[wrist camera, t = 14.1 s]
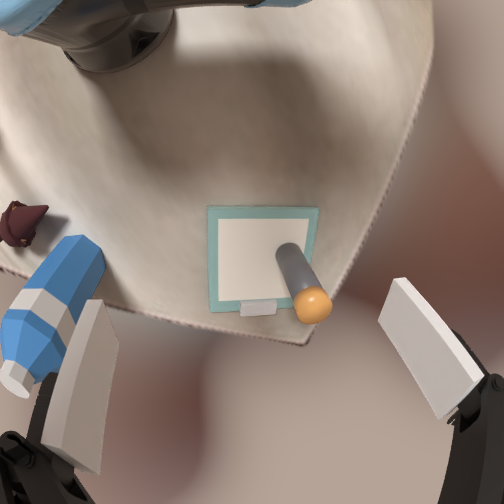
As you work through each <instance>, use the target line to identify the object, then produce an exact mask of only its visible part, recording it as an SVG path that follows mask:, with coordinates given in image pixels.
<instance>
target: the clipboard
mask: <svg viewBox="0 0 504 504" xmlns="http://www.w3.org/2000/svg"><path fill="white" fill-rule="evenodd" d="M318 216H319V209H318V208H317V207H288V206H207V237H208V279H209V306H210V312H230V311H240V317H242V316H259V315H273V314H276V310H277V309H280V308H293V307H294V305H293V301H292V298H291V296H290V293H289V290H288V288H287V285H286V283H285V280H284V278H283V275H282V273H281V270H280V268H279V265H278V263H277V261H276V258H275V254H276V251H277V249H278V248H279V247H280V246H281V245H283V244H285V243H295V244H297V245H298V246H299V247H300V249H301V251H302V253H303V254H304V256H305V258H306V259H307V261H308V263H309V265H310V263H311V257H312V252H313V246H314V240H315V234H316V228H317V222H318Z"/></svg>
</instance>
